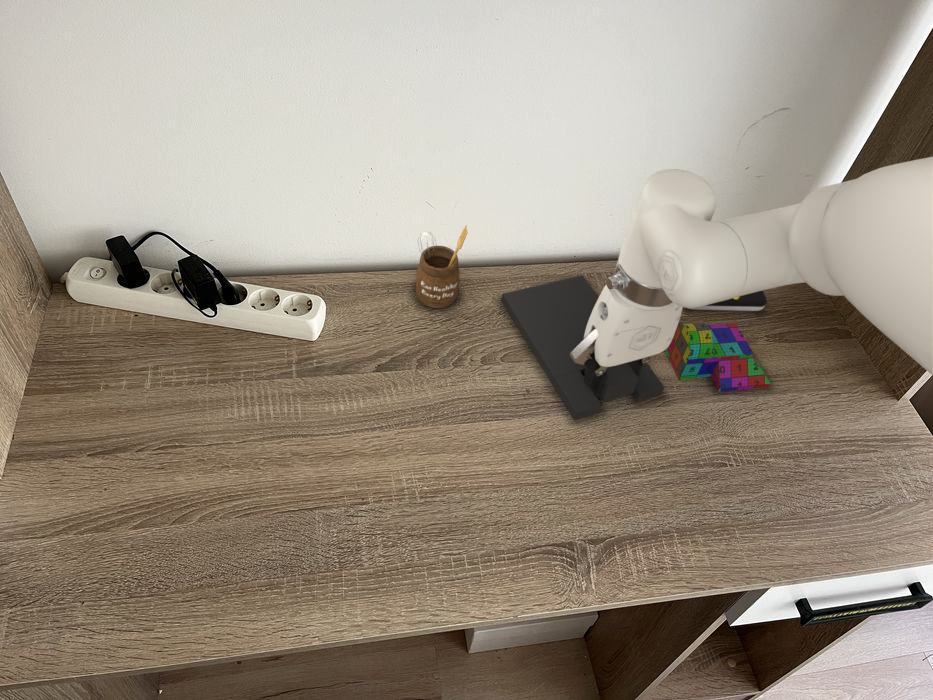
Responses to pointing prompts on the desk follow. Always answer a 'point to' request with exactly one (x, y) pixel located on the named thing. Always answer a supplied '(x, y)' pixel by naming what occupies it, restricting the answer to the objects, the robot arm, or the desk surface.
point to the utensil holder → (438, 274)
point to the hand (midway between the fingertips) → (609, 380)
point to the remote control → (739, 303)
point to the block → (715, 356)
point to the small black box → (618, 382)
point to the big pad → (565, 339)
